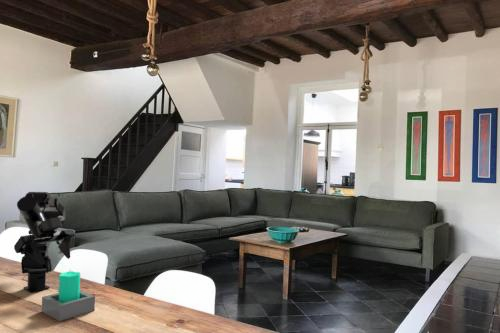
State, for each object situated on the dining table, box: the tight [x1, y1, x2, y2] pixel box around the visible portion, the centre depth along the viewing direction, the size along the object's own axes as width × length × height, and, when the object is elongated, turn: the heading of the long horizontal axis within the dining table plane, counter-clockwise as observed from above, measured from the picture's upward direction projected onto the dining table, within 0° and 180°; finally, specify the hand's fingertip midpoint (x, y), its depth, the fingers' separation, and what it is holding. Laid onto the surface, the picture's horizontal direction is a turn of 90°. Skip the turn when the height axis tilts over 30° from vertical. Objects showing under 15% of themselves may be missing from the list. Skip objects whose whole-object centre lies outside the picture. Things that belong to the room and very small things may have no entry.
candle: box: [58, 270, 81, 303], centre depth 120 cm, size 6×6×12 cm
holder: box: [41, 289, 96, 322], centre depth 120 cm, size 11×11×4 cm
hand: (56, 260), depth 127 cm, fingers open, 9 cm apart
